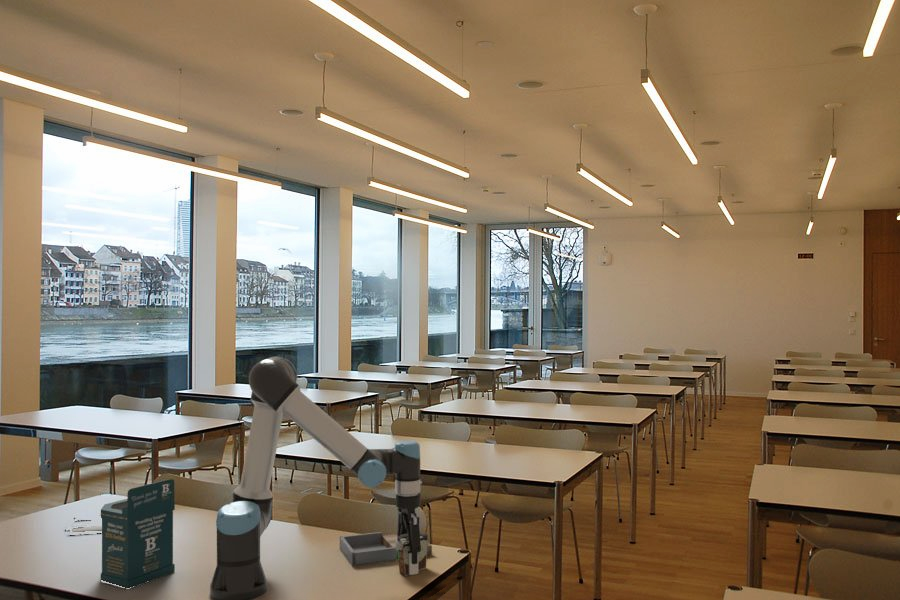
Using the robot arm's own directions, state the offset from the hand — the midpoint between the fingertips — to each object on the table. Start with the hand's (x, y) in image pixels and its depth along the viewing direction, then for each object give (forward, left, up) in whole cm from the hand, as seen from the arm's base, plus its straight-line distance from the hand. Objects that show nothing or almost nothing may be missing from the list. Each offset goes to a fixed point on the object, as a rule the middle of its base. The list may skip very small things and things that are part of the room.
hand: (409, 568), depth 219 cm
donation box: (+25, +77, 0) cm, 81 cm away
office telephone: (+86, +92, -1) cm, 126 cm away
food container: (0, 0, 0) cm, 1 cm away
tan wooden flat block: (+18, -5, 0) cm, 19 cm away
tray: (+18, +8, 0) cm, 20 cm away
